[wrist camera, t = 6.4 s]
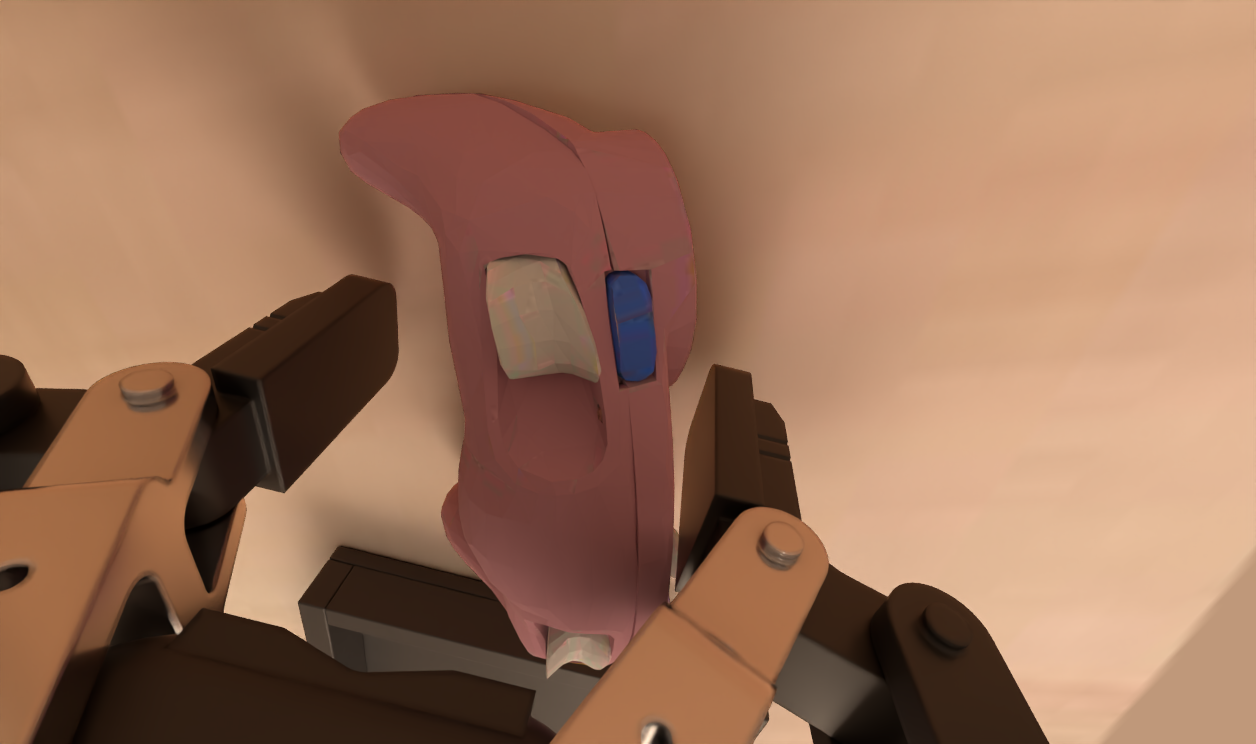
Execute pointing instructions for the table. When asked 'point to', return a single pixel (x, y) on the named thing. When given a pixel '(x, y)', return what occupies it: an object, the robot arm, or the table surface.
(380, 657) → the tray
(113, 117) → the table surface
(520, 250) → the video game controller
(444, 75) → the table surface
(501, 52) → the table surface
